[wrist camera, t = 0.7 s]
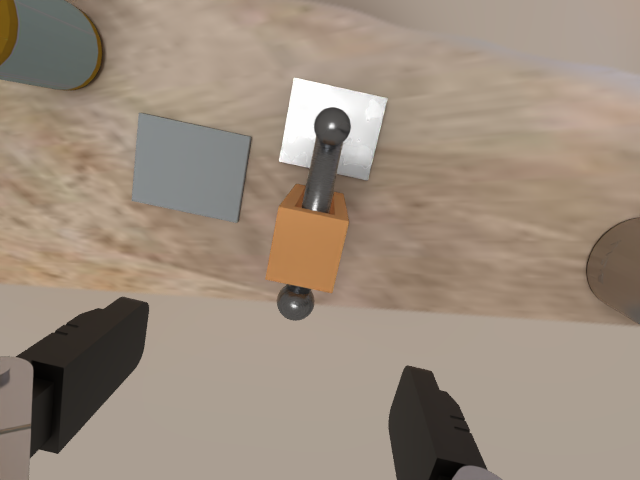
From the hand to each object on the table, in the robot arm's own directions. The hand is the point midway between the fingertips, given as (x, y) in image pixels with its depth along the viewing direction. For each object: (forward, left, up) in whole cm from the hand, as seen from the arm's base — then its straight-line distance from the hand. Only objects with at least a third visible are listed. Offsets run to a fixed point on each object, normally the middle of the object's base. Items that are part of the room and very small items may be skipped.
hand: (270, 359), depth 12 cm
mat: (+12, -1, -26) cm, 28 cm away
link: (0, 0, -22) cm, 22 cm away
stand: (0, -3, -26) cm, 26 cm away
